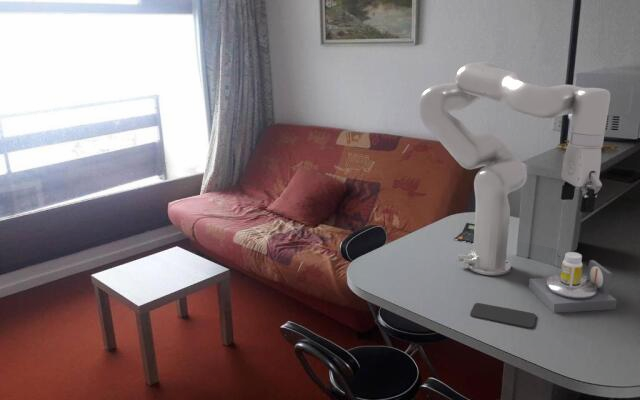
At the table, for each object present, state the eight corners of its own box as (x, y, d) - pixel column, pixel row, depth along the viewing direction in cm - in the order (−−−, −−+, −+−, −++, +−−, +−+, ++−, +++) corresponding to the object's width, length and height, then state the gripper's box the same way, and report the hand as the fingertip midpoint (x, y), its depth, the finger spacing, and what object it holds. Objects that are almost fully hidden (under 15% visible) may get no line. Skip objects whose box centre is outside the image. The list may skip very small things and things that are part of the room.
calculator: (454, 240, 180) (454, 232, 179) (466, 230, 189) (467, 222, 188) (481, 246, 175) (482, 237, 174) (492, 235, 184) (493, 227, 183)
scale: (553, 312, 132) (557, 282, 130) (528, 287, 146) (531, 258, 143) (615, 308, 133) (619, 278, 131) (584, 283, 147) (588, 255, 144)
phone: (475, 302, 138) (536, 313, 131) (475, 304, 138) (536, 316, 132) (469, 315, 132) (533, 328, 125) (468, 318, 132) (533, 331, 125)
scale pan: (560, 300, 133) (560, 296, 132) (538, 279, 144) (538, 275, 144) (606, 297, 133) (607, 294, 133) (580, 276, 145) (581, 273, 145)
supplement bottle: (579, 281, 140) (583, 252, 137) (580, 289, 136) (584, 259, 133) (559, 279, 142) (563, 250, 139) (559, 286, 138) (563, 257, 135)
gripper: (554, 133, 138) (546, 195, 143) (589, 147, 121) (578, 217, 127) (583, 132, 138) (573, 194, 143) (621, 147, 121) (609, 216, 127)
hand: (576, 205), depth 135 cm, fingers open, 9 cm apart
